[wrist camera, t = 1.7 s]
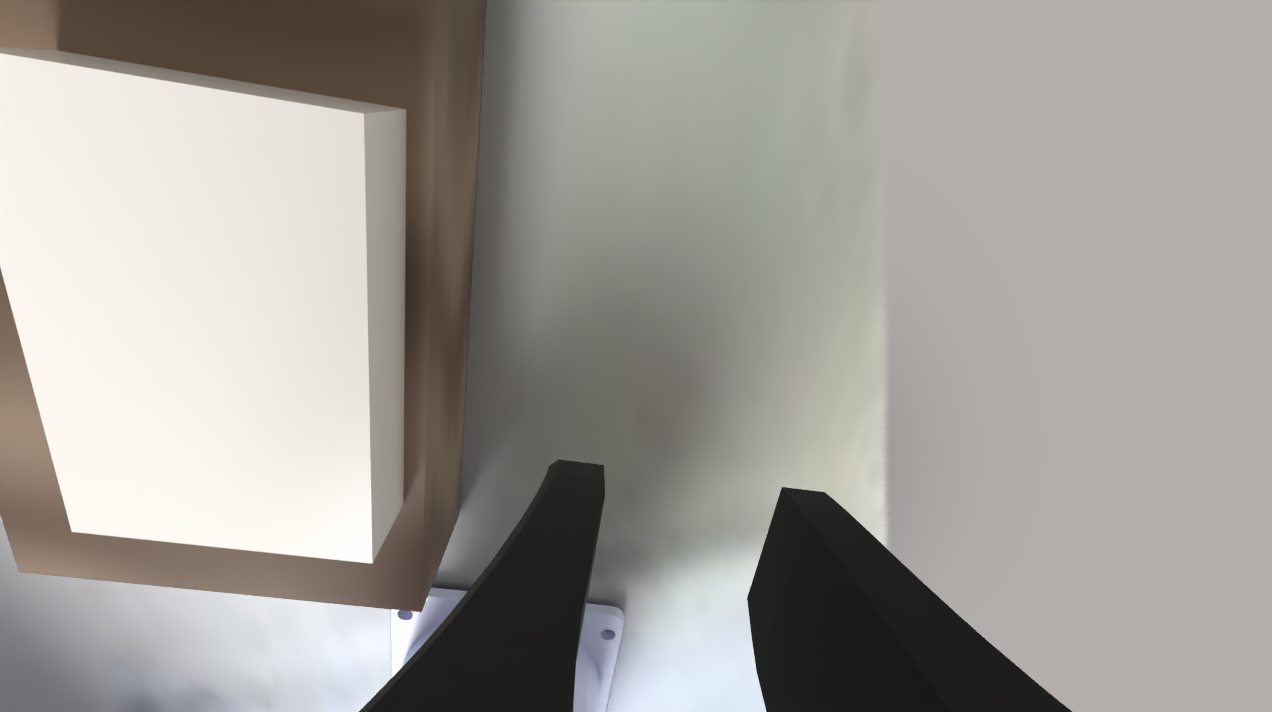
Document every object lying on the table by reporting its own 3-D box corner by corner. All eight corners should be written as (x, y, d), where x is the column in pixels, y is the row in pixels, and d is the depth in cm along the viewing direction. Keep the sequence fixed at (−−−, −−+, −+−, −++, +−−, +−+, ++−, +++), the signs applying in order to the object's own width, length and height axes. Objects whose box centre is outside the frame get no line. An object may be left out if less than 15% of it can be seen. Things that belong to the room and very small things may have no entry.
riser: (458, 515, 20) (421, 612, 16) (135, 478, 19) (19, 572, 15) (489, -62, 13) (439, -118, 10) (3, -157, 13) (-251, -256, 9)
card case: (403, 504, 15) (372, 563, 13) (142, 474, 14) (72, 531, 12) (406, 108, 11) (363, 113, 9) (56, 50, 11) (-60, 42, 9)
